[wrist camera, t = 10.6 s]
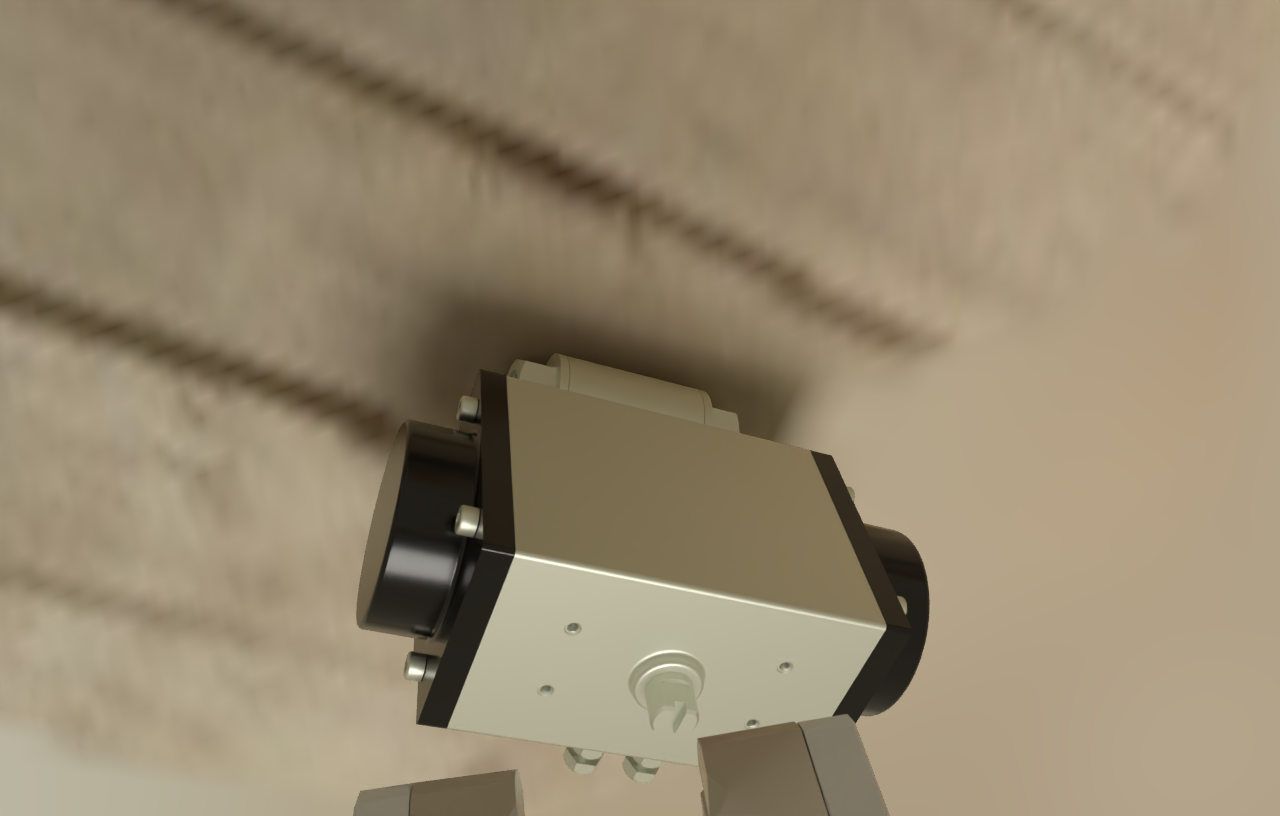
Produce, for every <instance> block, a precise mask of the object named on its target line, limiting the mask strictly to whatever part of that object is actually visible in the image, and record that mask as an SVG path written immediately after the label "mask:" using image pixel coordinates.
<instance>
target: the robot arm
mask: <svg viewBox="0 0 1280 816" xmlns="http://www.w3.org/2000/svg"><path fill="white" fill-rule="evenodd" d="M697 754H698V765H699V770H700V775H701V780H702V785H703V791H702V792H701V802H702V811H703V816H890V815H889V812H888V810H887V807H886V804H885V802H884V799H883V796H882V794H881V791H880V788H879V786H878V783H877V780H876V778H875V775H874V772H873V770H872V767H871V764H870V762H869V759H868V756H867V754H866V751H865V748H864V746H863V743H862V741H861V738H860V735H859V732H858V730H857V727H856V725H855V722H854V721H853V720H852V719H851V718H850V716H849V715H848V714H844V715H838V716H832V717H825V718H819V719H813V720H807V721H801V722H798V723H797V724H796V723H795V722H794V721H793V722H788V723H782V724H776V725H771V726H765V727H759V728H753V729H748V730H742V731H736V732H730V733H725V734H719V735H713V736H707V737H702V738H697ZM353 816H525V814H524V798H523V789H522V785H521V781H520V777H519V773H518V770H517V769H515V770H507V771H500V772H492V773H485V774H477V775H470V776H462V777H455V778H447V779H440V780H432V781H425V782H417V783H411V784H404V785H397V786H391V787H384V788H377V789H371V790H364V791H360V793H359V796H358V799H357V801H356V804H355V807H354V814H353Z"/></svg>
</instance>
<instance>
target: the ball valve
mask: <svg viewBox="0 0 1280 816" xmlns="http://www.w3.org/2000/svg"><path fill="white" fill-rule="evenodd" d="M457 420H458V421H462V423H461V426H460V429H459V431H458V430H454V429H450V428H445V427H441V426H436V425H432V424H428V423H423V422H419V421H415V420H406V421H405V422H404V423H403V424H402V426H401V427H400V429H399V431H398V434H397V436H396V438H395V441H394V444H393V447H392V449H391V452H390V455H389V459H388V462H387V465H386V468H385V472H384V475H383V479H382V482H381V486H380V490H379V494H378V498H377V502H376V506H375V510H374V514H373V518H372V522H371V527H370V531H369V536H368V540H367V545H366V550H365V555H364V560H363V566H362V571H361V577H360V584H359V591H358V599H357V611H356V618H357V625H358V627H359V628H361V629H364V630H370V631H376V632H381V633H387V634H393V635H399V636H404V637H410V638H414V652H412V651H411V652H409V653H408V655H407V658H406V662H405V666H404V678H405V679H407V680H413V681H418V696H417V716H416V724H419V725H425V726H432V727H439V728H445V729H452V730H458V731H465V732H472V733H478V734H485V735H492V736H498V737H505V738H511V739H518V740H525V741H531V742H538V743H545V744H551V745H558V746H564V747H567V748H566V750H565V752H564V754H563V757H564V760H565V763H566V765H567V766H568V767H569V768H570V769H571V770H572V771H574V772H576V773H578V774H583V775H585V774H590V773H593V772H594V770H595V769H596V767H597V765H598V764H599V762H600V760H601V758H602V756H603V753H611V754H617V755H624V756H626V757H625V759H624V761H623V763H622V764H623V768H624V771H625V773H626V774H627V775H628V777H630V778H631V779H632V780H634V781H636V782H639V783H648V782H651V781H652V780H653V778H654V776H655V774H656V773H657V771H658V769H659V767H660V765H661V763H662V761H664V762H670V763H677V764H684V765H690V766H697V767H699V765H698V754H697V738H702V737H707V736H713V735H719V734H725V733H730V732H736V731H742V730H748V729H753V728H759V727H765V726H771V725H776V724H782V723H788V722H793V721H794V722H795V723H796V724H797V723H798V722H801V721H807V720H813V719H819V718H825V717H832V716H838V715H844V714H848V715H849V716H850V718H851V719H852V720H853V721H854V722H855V723H856V722H857V720H858V718H859V717H860V715H861V716H873V715H878V714H880V713H882V712H884V711H886V710H887V709H889V708H890V707H891V706H892V705H893V704H895V703H896V702H897V701H898V699H899V698H900V697H901V696H902V695H903V693H904V692H905V690H906V689H907V687H908V686H909V684H910V682H911V680H912V678H913V676H914V674H915V672H916V669H917V667H918V665H919V662H920V659H921V656H922V652H923V649H924V645H925V641H926V636H927V630H928V622H929V588H928V581H927V575H926V571H925V568H924V564H923V561H922V559H921V557H920V554H919V552H918V550H917V549H916V547H915V546H914V545H913V543H912V542H911V541H910V540H909V539H908V538H907V537H906V536H905V535H903V534H902V533H900V532H898V531H895V530H891V529H886V528H882V527H878V526H873V525H869V524H864V523H863V522H862V520H861V517H860V515H859V513H858V511H857V509H856V507H855V504H854V498H855V493H854V490H853V489H852V488H851V487H847V486H846V485H845V483H844V481H843V479H842V476H841V474H840V472H839V470H838V468H837V466H836V463H835V461H834V459H833V457H832V456H831V455H827V454H823V453H819V452H815V451H811V450H807V449H803V448H798V447H794V446H790V445H786V444H782V443H778V442H774V441H770V440H766V439H762V438H758V437H754V436H750V435H746V434H742V433H740V430H739V422H738V417H737V414H736V413H732V412H728V411H724V410H720V409H716V408H712V403H711V399H710V397H709V395H708V394H707V393H706V392H705V391H702V390H698V389H694V388H690V387H686V386H682V385H679V384H675V383H671V382H667V381H663V380H659V379H655V378H651V377H647V376H643V375H639V374H635V373H631V372H627V371H623V370H620V369H616V368H612V367H608V366H604V365H600V364H596V363H592V362H588V361H585V360H581V359H577V358H573V357H569V356H565V355H561V354H557V353H555V354H553V355H552V356H551V357H550V359H549V360H548V362H547V364H546V365H541V364H537V363H533V362H529V361H525V360H520V359H516V360H515V361H514V362H513V364H512V365H511V367H510V369H509V372H508V374H507V376H506V375H502V374H498V373H494V372H490V371H486V370H482V369H480V370H479V373H478V376H477V379H476V382H475V385H474V388H473V390H472V393H471V396H470V397H469V396H465V395H464V396H462V397H461V399H460V402H459V405H458V410H457Z"/></svg>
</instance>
